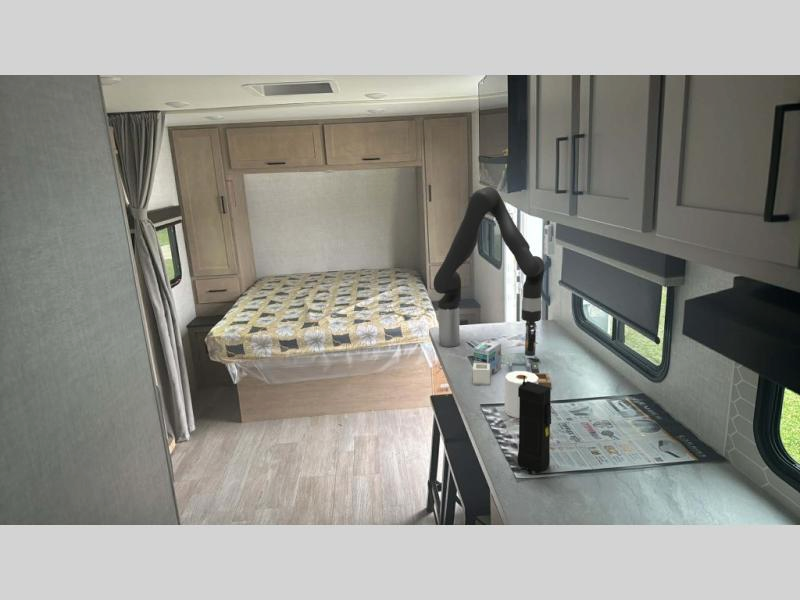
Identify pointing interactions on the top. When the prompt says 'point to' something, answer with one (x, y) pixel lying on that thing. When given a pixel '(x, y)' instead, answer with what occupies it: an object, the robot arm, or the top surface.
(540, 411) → the portable radio
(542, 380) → the trough
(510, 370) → the tray
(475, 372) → the pot
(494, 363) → the light bulb box
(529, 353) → the cell
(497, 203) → the robot arm
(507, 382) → the toilet paper
